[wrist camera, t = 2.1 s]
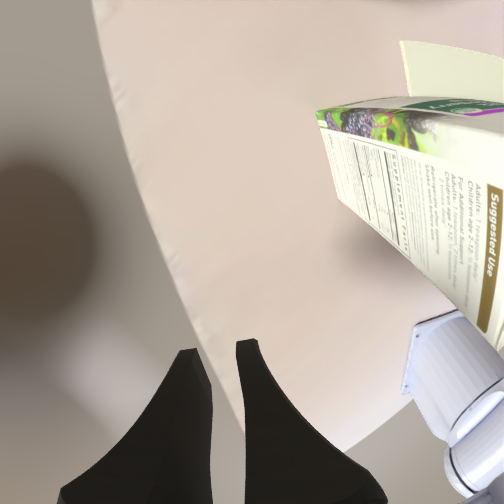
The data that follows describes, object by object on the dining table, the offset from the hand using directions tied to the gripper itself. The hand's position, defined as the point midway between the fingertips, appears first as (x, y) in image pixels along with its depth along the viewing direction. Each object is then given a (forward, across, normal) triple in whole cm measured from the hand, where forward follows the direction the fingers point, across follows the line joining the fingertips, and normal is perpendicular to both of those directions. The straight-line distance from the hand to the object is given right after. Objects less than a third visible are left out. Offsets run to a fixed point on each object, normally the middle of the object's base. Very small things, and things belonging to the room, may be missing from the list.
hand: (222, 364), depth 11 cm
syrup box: (+10, -10, -5) cm, 15 cm away
